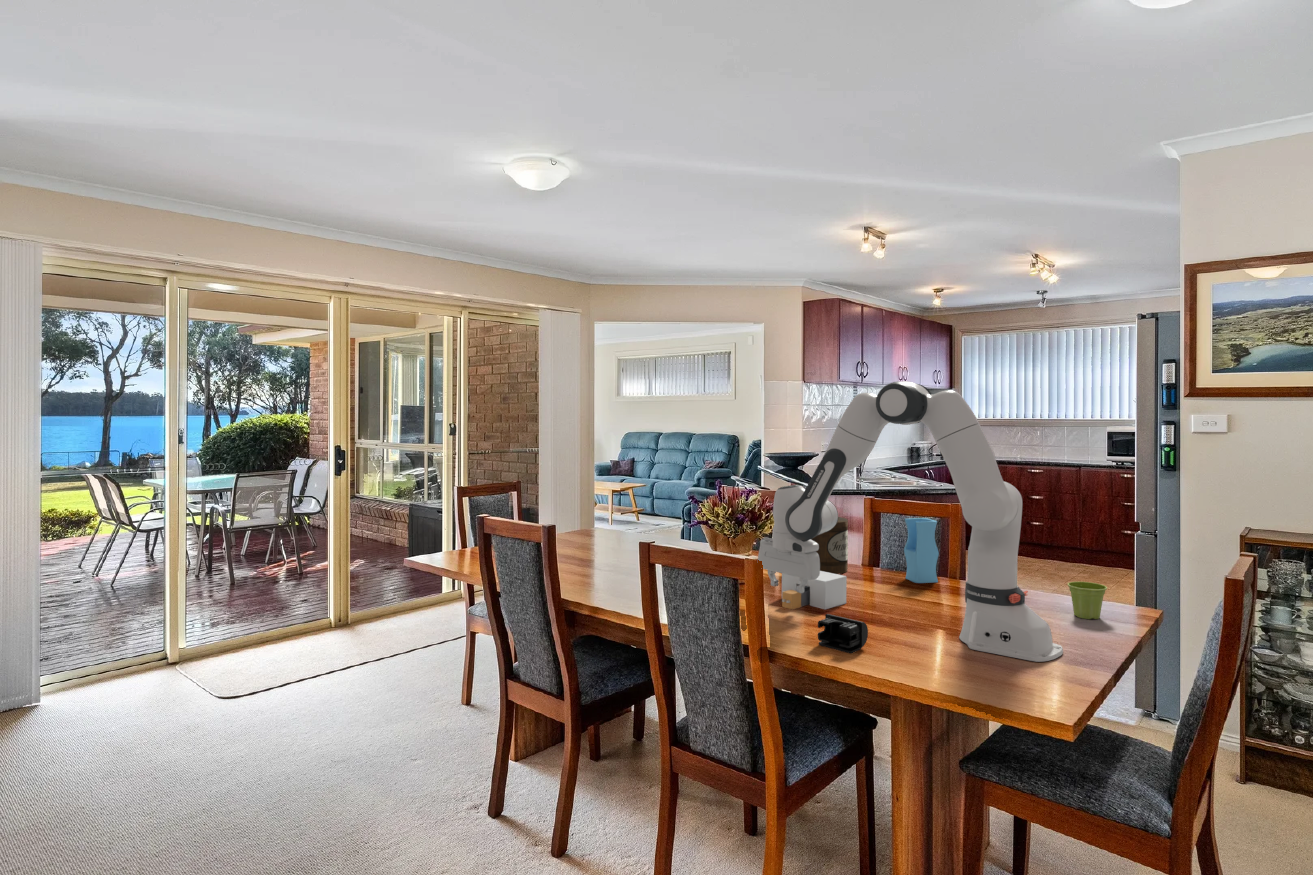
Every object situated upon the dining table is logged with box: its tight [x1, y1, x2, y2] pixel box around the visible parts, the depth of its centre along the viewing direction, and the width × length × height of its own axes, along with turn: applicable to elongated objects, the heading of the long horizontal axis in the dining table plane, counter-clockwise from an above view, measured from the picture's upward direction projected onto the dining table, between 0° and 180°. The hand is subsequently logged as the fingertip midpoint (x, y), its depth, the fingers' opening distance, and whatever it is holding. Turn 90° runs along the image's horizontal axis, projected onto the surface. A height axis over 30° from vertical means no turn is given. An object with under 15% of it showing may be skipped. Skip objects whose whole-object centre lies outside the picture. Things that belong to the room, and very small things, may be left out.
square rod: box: [781, 587, 810, 610], centre depth 217 cm, size 4×26×4 cm, turn 130°
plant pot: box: [1067, 581, 1108, 620], centre depth 200 cm, size 9×9×9 cm
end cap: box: [817, 613, 869, 654], centre depth 176 cm, size 10×7×7 cm
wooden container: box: [811, 516, 849, 575], centre depth 258 cm, size 15×15×22 cm
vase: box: [903, 517, 940, 584], centre depth 243 cm, size 8×8×20 cm
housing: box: [781, 571, 848, 610], centre depth 217 cm, size 16×10×8 cm, turn 40°
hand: (787, 589), depth 210 cm, fingers open, 8 cm apart
